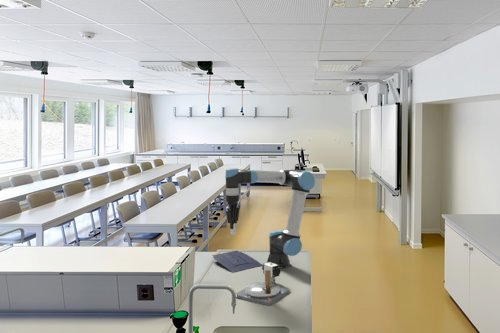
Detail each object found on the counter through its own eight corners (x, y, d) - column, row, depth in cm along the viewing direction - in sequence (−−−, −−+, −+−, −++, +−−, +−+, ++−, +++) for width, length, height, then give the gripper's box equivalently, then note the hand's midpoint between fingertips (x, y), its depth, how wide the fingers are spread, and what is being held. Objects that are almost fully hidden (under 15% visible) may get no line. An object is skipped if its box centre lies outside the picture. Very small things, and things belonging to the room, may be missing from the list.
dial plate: (256, 284, 254) (256, 281, 254) (289, 291, 242) (289, 288, 242) (234, 297, 236) (234, 293, 236) (269, 305, 224) (269, 302, 224)
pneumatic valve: (274, 286, 251) (274, 265, 250) (262, 280, 260) (261, 261, 259) (282, 283, 255) (281, 263, 254) (269, 278, 264) (268, 259, 263)
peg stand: (240, 288, 244) (239, 263, 243) (271, 283, 251) (270, 259, 250) (252, 300, 227) (252, 274, 225) (285, 295, 233) (285, 269, 232)
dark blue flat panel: (238, 253, 314) (239, 248, 313) (263, 269, 290) (263, 264, 289) (209, 259, 300) (209, 254, 300) (232, 276, 276) (232, 271, 275)
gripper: (233, 192, 264) (234, 231, 266) (220, 195, 254) (221, 235, 256) (243, 193, 260) (244, 232, 262) (231, 196, 249) (231, 237, 252)
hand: (233, 234), depth 259 cm, fingers closed
